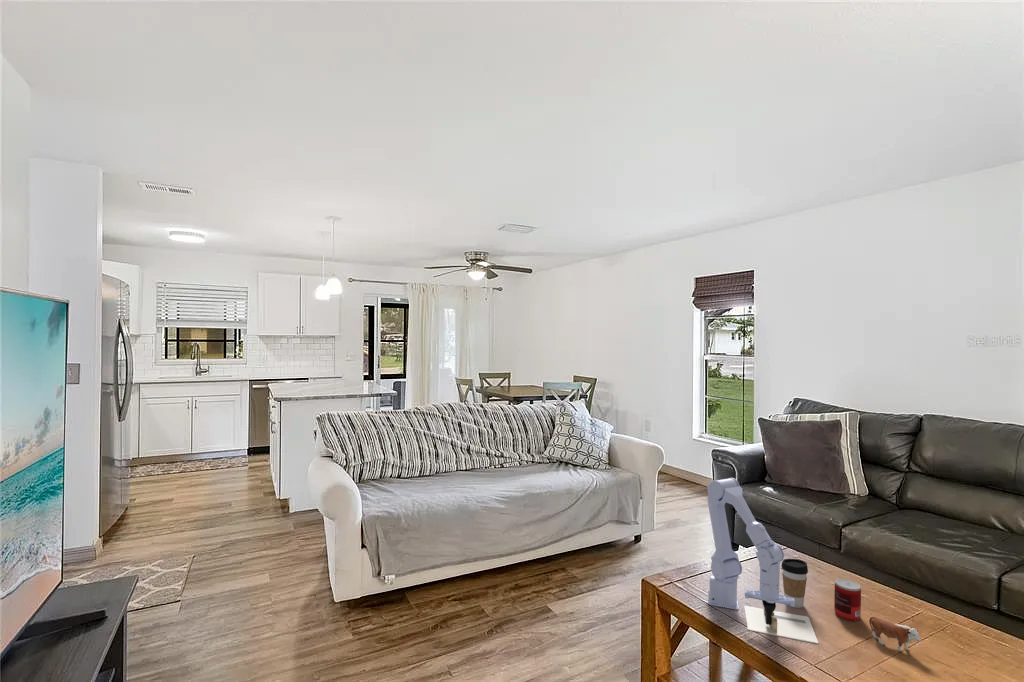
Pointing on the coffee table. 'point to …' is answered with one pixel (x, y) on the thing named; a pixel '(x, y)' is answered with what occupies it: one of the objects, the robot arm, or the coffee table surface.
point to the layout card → (781, 625)
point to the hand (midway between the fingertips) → (768, 623)
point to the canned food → (847, 599)
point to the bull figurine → (894, 632)
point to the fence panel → (774, 623)
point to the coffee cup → (794, 580)
